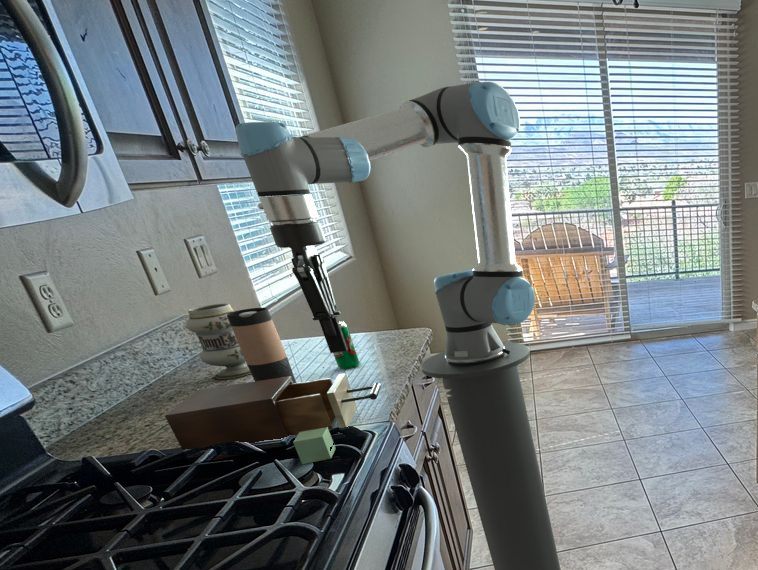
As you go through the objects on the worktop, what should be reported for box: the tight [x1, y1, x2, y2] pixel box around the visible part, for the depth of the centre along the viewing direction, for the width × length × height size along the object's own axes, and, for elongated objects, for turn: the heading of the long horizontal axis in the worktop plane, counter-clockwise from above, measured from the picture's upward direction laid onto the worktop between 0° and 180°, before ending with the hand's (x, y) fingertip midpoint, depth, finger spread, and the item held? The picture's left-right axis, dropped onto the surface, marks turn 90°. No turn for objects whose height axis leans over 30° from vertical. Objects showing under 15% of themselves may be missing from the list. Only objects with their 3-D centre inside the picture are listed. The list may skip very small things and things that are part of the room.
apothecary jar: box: [185, 303, 252, 380], centre depth 148 cm, size 12×12×18 cm
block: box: [293, 427, 336, 465], centre depth 102 cm, size 4×4×4 cm
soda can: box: [332, 320, 361, 370], centre depth 149 cm, size 5×5×12 cm
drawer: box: [275, 372, 382, 435], centre depth 113 cm, size 21×13×8 cm, turn 113°
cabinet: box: [164, 376, 293, 461], centre depth 109 cm, size 16×14×10 cm
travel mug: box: [227, 307, 297, 383], centre depth 130 cm, size 8×8×20 cm
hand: (339, 350), depth 109 cm, fingers closed
